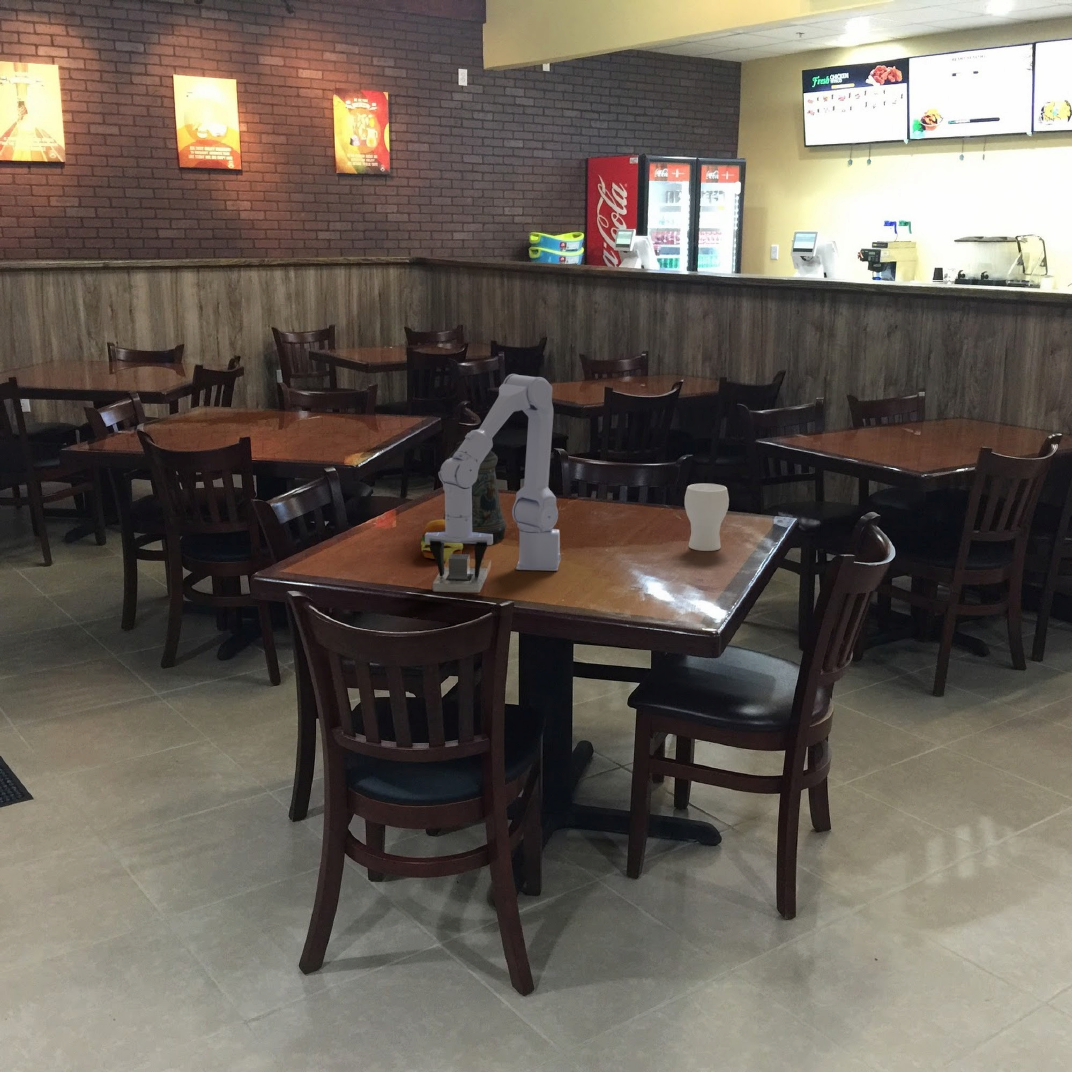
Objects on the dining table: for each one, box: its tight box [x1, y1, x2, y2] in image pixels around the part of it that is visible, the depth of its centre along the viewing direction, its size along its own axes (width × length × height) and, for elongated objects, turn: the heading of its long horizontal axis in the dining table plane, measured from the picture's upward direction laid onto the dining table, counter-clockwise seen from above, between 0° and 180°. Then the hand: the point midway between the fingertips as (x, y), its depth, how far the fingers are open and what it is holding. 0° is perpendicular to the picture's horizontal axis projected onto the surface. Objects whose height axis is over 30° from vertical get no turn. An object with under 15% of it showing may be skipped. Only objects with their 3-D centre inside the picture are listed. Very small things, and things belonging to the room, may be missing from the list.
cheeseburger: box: [420, 518, 464, 563], centre depth 268 cm, size 10×11×10 cm
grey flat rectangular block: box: [432, 558, 492, 594], centre depth 250 cm, size 10×20×2 cm, turn 175°
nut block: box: [449, 553, 471, 581], centre depth 245 cm, size 4×4×6 cm
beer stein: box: [442, 437, 507, 546], centre depth 284 cm, size 16×19×25 cm
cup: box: [684, 483, 730, 552], centre depth 275 cm, size 11×11×15 cm
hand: (459, 575), depth 245 cm, fingers open, 7 cm apart
